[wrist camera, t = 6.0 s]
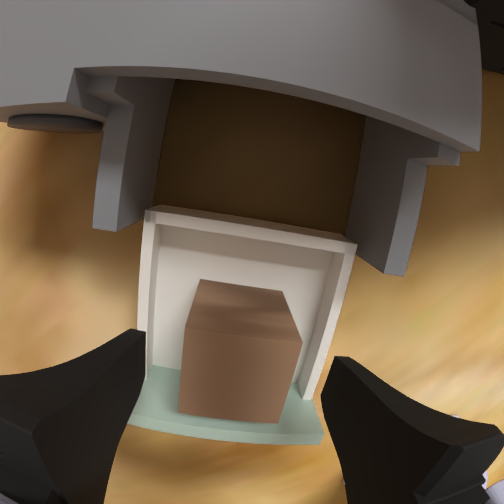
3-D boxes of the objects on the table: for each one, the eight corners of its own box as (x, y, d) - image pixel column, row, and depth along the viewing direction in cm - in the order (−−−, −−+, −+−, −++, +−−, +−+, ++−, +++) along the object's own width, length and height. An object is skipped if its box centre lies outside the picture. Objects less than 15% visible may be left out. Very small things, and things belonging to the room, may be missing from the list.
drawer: (341, 234, 16) (386, 261, 11) (300, 384, 18) (319, 444, 13) (157, 204, 15) (120, 218, 10) (146, 364, 17) (122, 422, 12)
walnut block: (282, 290, 15) (302, 342, 10) (266, 359, 16) (278, 423, 11) (200, 278, 15) (184, 327, 10) (191, 349, 16) (178, 412, 11)
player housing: (388, 60, 14) (474, 6, 6) (358, 248, 16) (446, 305, 8) (80, 21, 12) (10, -40, 4) (42, 199, 14) (-60, 223, 7)
